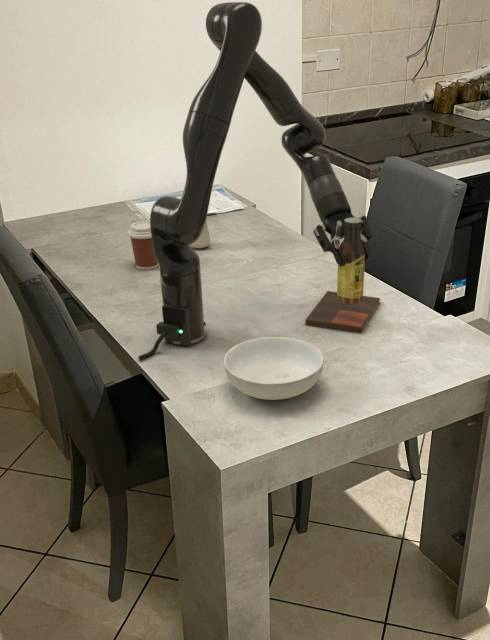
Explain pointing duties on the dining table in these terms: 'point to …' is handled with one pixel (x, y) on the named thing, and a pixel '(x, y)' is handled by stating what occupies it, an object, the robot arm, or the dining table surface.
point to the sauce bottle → (351, 264)
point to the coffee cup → (142, 245)
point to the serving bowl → (273, 367)
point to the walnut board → (342, 313)
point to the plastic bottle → (202, 238)
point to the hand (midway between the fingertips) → (355, 261)
